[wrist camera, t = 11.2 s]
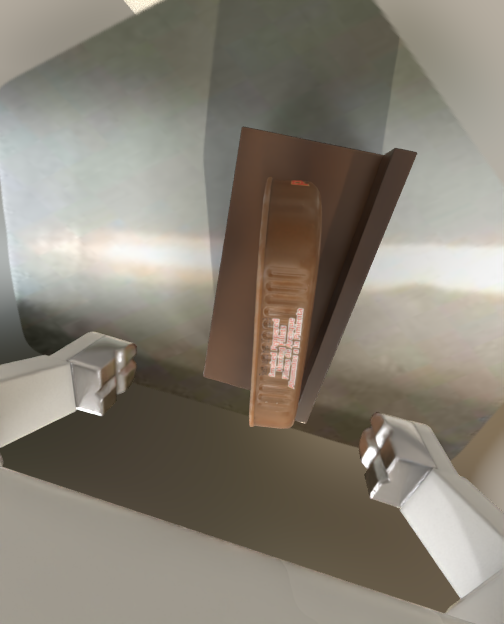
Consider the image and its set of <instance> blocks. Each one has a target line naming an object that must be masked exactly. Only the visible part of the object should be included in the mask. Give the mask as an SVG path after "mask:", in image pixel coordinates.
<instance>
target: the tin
mask: <svg viewBox="0 0 504 624" xmlns="http://www.w3.org/2000/svg"><path fill="white" fill-rule="evenodd" d="M321 233H322V205H321V196H320V192H319V190H318V188H317V187H316V186H315V185H314V184H313V183H312V182H309V181H299V180H275V179H273V178H272V177H268V179H267V183H266V187H265V193H264V198H263V209H262V220H261V229H260V240H259V252H258V270H257V287H256V303H255V320H254V340H253V358H252V374H251V392H250V409H249V424H250V426H251V427H253V426H264V427H273V428H282V429H283V428H290V427H291V426H292V425H293V423H294V421H295V417H296V413H297V408H298V403H299V396H300V390H301V384H302V378H303V372H304V366H305V359H306V352H307V346H308V339H309V332H310V326H311V318H312V311H313V304H314V297H315V289H316V282H317V275H318V266H319V257H320V246H321Z"/></svg>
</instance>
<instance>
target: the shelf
mask: <svg viewBox="0 0 504 624" xmlns="http://www.w3.org/2000/svg"><path fill="white" fill-rule="evenodd" d="M416 155H417V152H413V151H408V150H403V149H398V148H394V149H393V150H391V151H389V152H388V153H386V154H385V155H380V154H375V153H370V152H365V151H361V150H356V149H351V148H346V147H341V146H336V145H331V144H326V143H321V142H316V141H312V140H307V139H302V138H297V137H292V136H287V135H282V134H277V133H272V132H268V131H263V130H258V129H253V128H248V127H242V130H241V136H240V142H239V149H238V155H237V162H236V168H235V175H234V181H233V187H232V194H231V200H230V207H229V213H228V219H227V226H226V232H225V239H224V245H223V252H222V258H221V264H220V271H219V277H218V284H217V290H216V297H215V303H214V309H213V316H212V322H211V329H210V335H209V341H208V348H207V354H206V361H205V367H204V374H203V376H204V377H207V378H210V379H213V380H217V381H220V382H224V383H227V384H231V385H234V386H237V387H241V388H244V389H248V390H251V374H252V358H253V340H254V320H255V303H256V287H257V270H258V252H259V240H260V229H261V220H262V209H263V198H264V193H265V187H266V183H267V179H268V177H272V178H273V179H275V180H299V181H309V182H312V183H313V184H314V185H315V186H316V187H317V188H318V190H319V192H320V196H321V205H322V233H321V246H320V257H319V266H318V275H317V282H316V289H315V297H314V304H313V311H312V318H311V326H310V332H309V339H308V346H307V352H306V359H305V366H304V372H303V378H302V384H301V390H300V396H299V403H298V408H297V413H296V417H295V420H296V421H299V422H302V423H307V420H308V418H309V415H310V413H311V411H312V408H313V406H314V403H315V401H316V398H317V396H318V394H319V391H320V389H321V386H322V384H323V381H324V379H325V377H326V374H327V372H328V369H329V367H330V364H331V362H332V359H333V357H334V355H335V352H336V350H337V347H338V345H339V342H340V340H341V338H342V335H343V333H344V330H345V328H346V325H347V323H348V321H349V318H350V316H351V313H352V311H353V308H354V306H355V303H356V301H357V299H358V296H359V294H360V291H361V289H362V286H363V284H364V282H365V279H366V277H367V274H368V272H369V269H370V267H371V265H372V262H373V260H374V257H375V255H376V252H377V250H378V248H379V245H380V243H381V240H382V238H383V235H384V233H385V230H386V228H387V226H388V223H389V221H390V218H391V216H392V213H393V211H394V209H395V206H396V204H397V201H398V199H399V196H400V194H401V192H402V189H403V187H404V184H405V182H406V179H407V177H408V174H409V172H410V170H411V167H412V165H413V162H414V160H415V157H416Z"/></svg>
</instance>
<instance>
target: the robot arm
mask: <svg viewBox="0 0 504 624" xmlns="http://www.w3.org/2000/svg"><path fill="white" fill-rule="evenodd" d="M136 355H137V346H136V345H135V344H134V343H130V342H127V341H124V340H121V339H117V338H114V337H111V336H106V335H104V334H100V333H97V332H89V333H87V334H85V335H84V336H82V337H80V338H79V339H77V340H75V341H74V342H72V343H70V344H69V345H67V346H66V347H64V348H62V349H61V350H59V351H57V352H56V353H54V354H52V355H51V356H46V355H43V356H38V357H34V358H29V359H25V360H21V361H16V362H11V363H7V364H2V365H0V447H3V446H4V445H7V444H9V443H11V442H13V441H15V440H17V439H19V438H21V437H23V436H25V435H27V434H29V433H31V432H33V431H35V430H38V429H40V428H42V427H44V426H46V425H48V424H50V423H51V422H54V421H56V420H58V419H60V418H62V417H64V416H66V415H68V414H70V413H73V412H75V411H76V409H78V410H81V411H85V412H89V413H92V414H96V415H100V416H103V415H104V414H105V413H106V412H107V410H108V409H109V408H110V407H111V406H112V405H113V404H114V403H115V402H116V400H117V394H120V393H122V392H124V391H126V390H127V388H129V387H130V385H131V384H132V382H133V380H134V378H135V375H136V371H137V364H136V363H135V361H134V360H133V357H134V356H136ZM370 423H371V427H369V428H367V429H365V430H364V431H363V433H362V435H361V437H360V442H359V454H360V459H361V461H362V463H363V464H364V465H365V467H366V468H367V469H368V470H367V471H366V473H365V479H366V483H367V488H368V492H369V495H370V498H372V499H374V500H378V501H380V502H384V503H386V504H389V505H392V506H395V507H398V508H401V509H400V511H401V512H402V513H403V515H404V516H405V518H406V520H407V521H408V522H409V524H410V525H411V527H412V528H413V530H414V531H415V533H416V534H417V536H418V537H419V539H420V540H421V541H422V543H423V544H424V546H425V547H426V549H427V550H428V552H429V553H430V555H431V556H432V558H433V559H434V560H435V562H436V563H437V565H438V566H439V568H440V569H441V571H442V572H443V574H444V575H445V576H446V578H447V579H448V581H449V582H450V583H451V585H452V587H453V588H454V590H455V591H456V592H457V594H458V595H459V597H460V598H461V599H460V600H459V601H457V602H456V603H455V604H453V605H452V606H450V607H449V608H448V610H447V612H446V613H445V614H444V613H441V612H438V611H435V610H432V609H429V608H426V607H423V606H420V605H417V604H414V603H411V602H408V601H405V600H402V599H399V598H396V597H393V596H390V595H387V594H384V593H381V592H378V591H375V590H372V589H369V588H366V587H363V586H360V585H357V584H354V583H351V582H347V581H345V580H342V579H339V578H336V577H333V576H330V575H327V574H324V573H321V572H318V571H315V570H312V569H309V568H306V567H303V566H300V565H297V564H293V563H291V562H288V561H285V560H282V559H278V558H276V557H273V556H269V555H267V554H263V553H261V552H258V551H254V550H252V549H249V548H246V547H242V546H239V545H236V544H233V543H230V542H227V541H224V540H221V539H218V538H215V537H212V536H209V535H206V534H203V533H200V532H197V531H194V530H191V529H188V528H185V527H182V526H179V525H176V524H173V523H170V522H167V521H164V520H161V519H158V518H155V517H152V516H149V515H146V514H143V513H140V512H137V511H134V510H131V509H128V508H124V507H121V506H118V505H115V504H112V503H109V502H106V501H103V500H100V499H97V498H94V497H91V496H88V495H85V494H82V493H79V492H76V491H73V490H70V489H67V488H64V487H61V486H58V485H55V484H52V483H49V482H46V481H43V480H40V479H37V478H34V477H30V476H27V475H25V474H22V473H19V472H15V471H13V470H10V469H7V468H4V467H2V465H3V460H2V457H1V454H0V624H504V512H503V511H502V510H500V509H499V508H498V507H497V506H496V505H495V504H494V503H493V502H491V501H490V500H489V499H488V498H487V497H486V496H485V495H484V494H483V493H481V492H480V491H479V490H478V489H477V488H476V487H475V486H474V485H473V484H471V483H470V482H469V481H468V480H467V479H466V478H464V477H461V476H459V475H458V473H457V472H456V470H455V468H454V467H453V465H452V463H451V461H450V460H449V458H448V456H447V455H446V453H445V451H444V450H443V448H442V446H441V445H440V443H439V441H438V440H437V438H436V436H435V434H434V433H433V431H432V429H431V428H430V427H429V426H427V425H426V424H422V423H418V422H414V421H410V420H409V421H408V420H405V419H401V418H398V417H394V416H390V415H387V414H383V413H379V412H376V413H374V414H373V415H372V417H371V419H370Z"/></svg>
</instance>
